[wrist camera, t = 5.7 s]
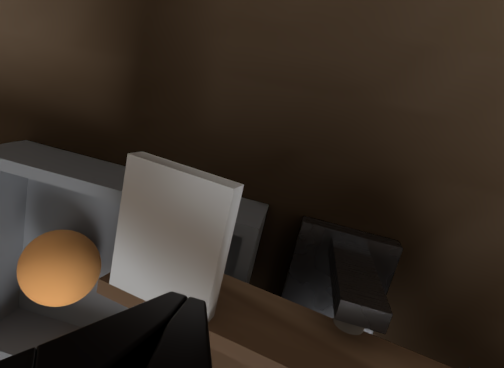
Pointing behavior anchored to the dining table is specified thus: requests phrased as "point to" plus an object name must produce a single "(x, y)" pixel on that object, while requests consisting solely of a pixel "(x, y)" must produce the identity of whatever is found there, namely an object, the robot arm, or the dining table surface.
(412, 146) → the dining table surface
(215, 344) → the chute
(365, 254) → the stand
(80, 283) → the ball
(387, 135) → the dining table surface
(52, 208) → the bin
